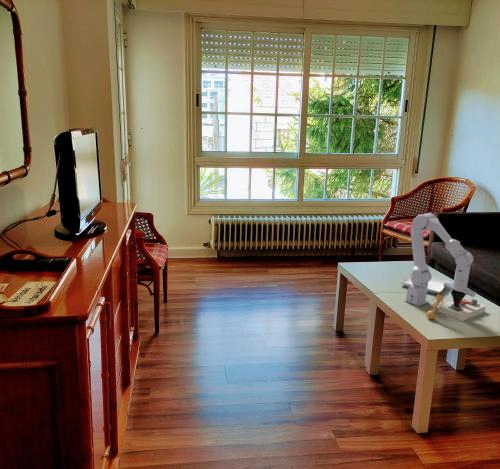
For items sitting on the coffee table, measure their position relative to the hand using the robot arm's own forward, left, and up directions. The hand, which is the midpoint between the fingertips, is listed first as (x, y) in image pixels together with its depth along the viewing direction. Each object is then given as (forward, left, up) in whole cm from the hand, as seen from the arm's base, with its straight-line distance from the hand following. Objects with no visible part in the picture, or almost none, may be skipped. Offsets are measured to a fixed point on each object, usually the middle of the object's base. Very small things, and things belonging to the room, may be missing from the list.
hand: (456, 306), depth 210 cm
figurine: (-14, +3, -4) cm, 15 cm away
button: (0, 0, -3) cm, 3 cm away
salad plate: (+21, +30, -5) cm, 37 cm away
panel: (+6, 0, -4) cm, 7 cm away
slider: (+12, -2, -1) cm, 12 cm away
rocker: (+6, 0, +1) cm, 6 cm away
